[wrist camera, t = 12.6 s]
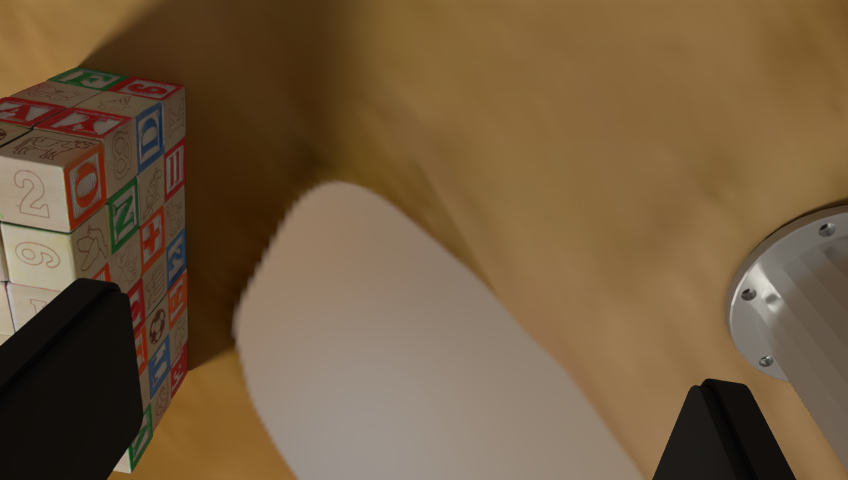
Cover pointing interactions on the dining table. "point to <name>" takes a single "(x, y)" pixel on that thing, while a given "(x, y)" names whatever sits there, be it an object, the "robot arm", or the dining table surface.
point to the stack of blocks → (100, 213)
